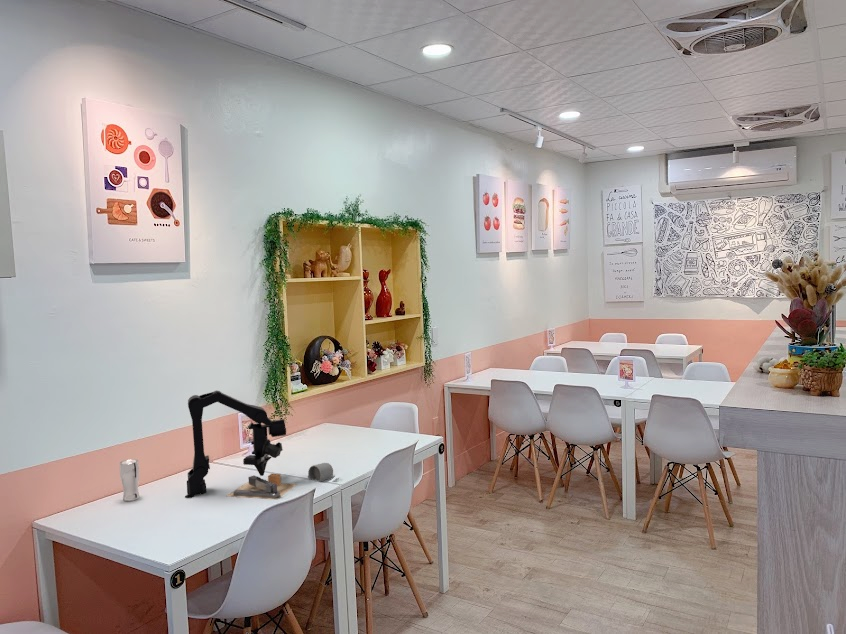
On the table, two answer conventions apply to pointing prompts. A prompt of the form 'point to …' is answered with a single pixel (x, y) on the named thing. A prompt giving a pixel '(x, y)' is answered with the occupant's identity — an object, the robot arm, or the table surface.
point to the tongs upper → (261, 483)
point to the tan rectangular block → (275, 478)
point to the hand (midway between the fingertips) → (262, 475)
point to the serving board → (281, 488)
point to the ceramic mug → (320, 472)
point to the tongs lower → (259, 493)
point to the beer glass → (130, 479)
